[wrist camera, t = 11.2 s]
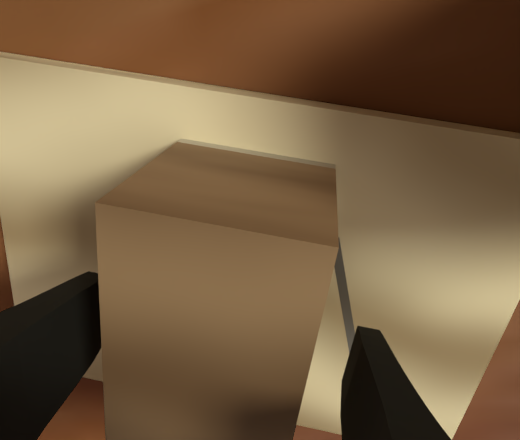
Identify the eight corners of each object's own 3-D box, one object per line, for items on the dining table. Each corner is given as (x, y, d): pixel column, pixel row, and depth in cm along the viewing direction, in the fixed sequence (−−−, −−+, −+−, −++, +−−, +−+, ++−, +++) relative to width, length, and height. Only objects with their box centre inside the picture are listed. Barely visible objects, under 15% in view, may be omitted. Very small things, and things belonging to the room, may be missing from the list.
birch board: (437, 434, 17) (443, 457, 16) (38, 347, 18) (23, 363, 17) (571, 141, 12) (591, 150, 11) (-1, 51, 13) (-25, 53, 12)
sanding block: (286, 393, 16) (268, 539, 11) (170, 368, 16) (108, 500, 12) (335, 164, 12) (338, 247, 7) (181, 138, 12) (94, 202, 8)
